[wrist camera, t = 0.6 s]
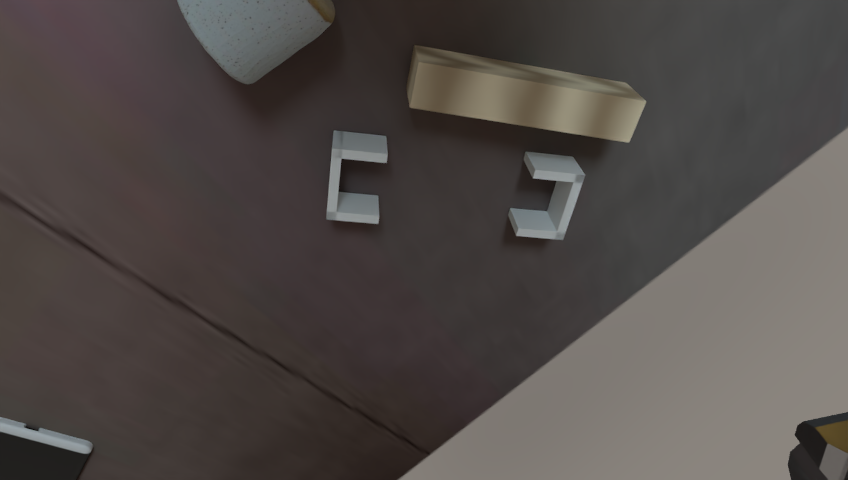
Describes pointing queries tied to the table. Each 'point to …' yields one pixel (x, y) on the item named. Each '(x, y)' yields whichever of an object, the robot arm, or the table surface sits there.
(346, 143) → the cap
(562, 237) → the cap
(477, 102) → the tan wooden beam
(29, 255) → the table surface
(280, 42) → the ceramic mug
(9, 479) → the smartphone
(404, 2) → the table surface
